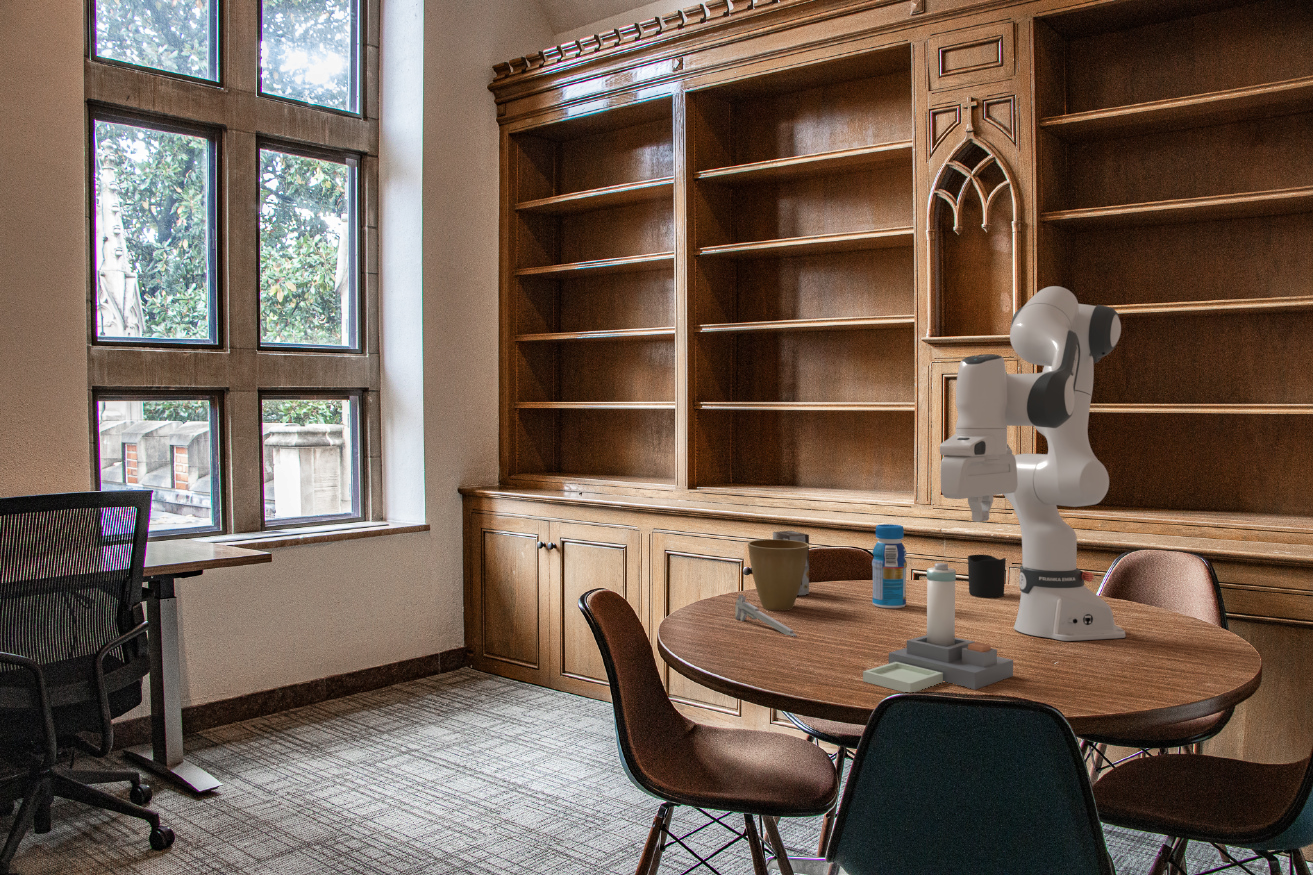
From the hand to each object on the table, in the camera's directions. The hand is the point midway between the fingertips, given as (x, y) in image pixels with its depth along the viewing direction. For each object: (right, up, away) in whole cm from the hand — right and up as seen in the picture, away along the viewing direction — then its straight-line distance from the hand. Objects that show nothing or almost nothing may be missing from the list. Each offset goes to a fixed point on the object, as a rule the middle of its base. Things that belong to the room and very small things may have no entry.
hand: (980, 520), depth 172 cm
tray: (-14, -29, -1) cm, 32 cm away
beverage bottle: (-1, -27, +65) cm, 71 cm away
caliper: (-34, -28, +42) cm, 61 cm away
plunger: (0, -26, +1) cm, 25 cm away
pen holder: (+28, -27, +79) cm, 88 cm away
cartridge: (-5, -26, +7) cm, 27 cm away
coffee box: (-23, -27, +82) cm, 89 cm away
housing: (-4, -29, +5) cm, 29 cm away
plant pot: (-29, -27, +63) cm, 74 cm away
